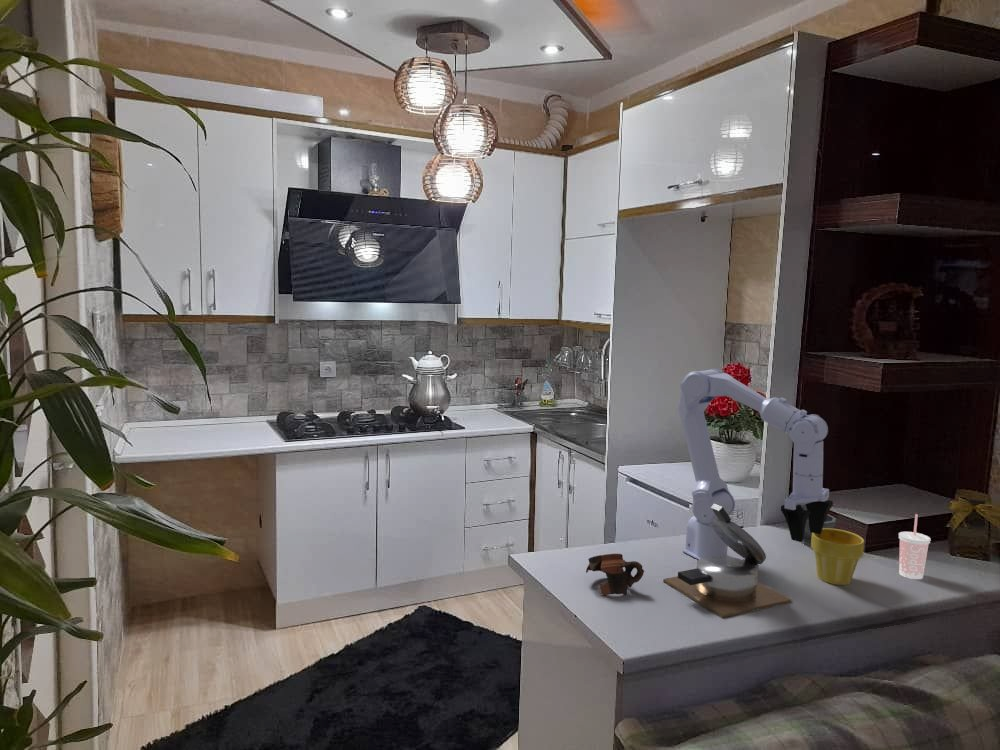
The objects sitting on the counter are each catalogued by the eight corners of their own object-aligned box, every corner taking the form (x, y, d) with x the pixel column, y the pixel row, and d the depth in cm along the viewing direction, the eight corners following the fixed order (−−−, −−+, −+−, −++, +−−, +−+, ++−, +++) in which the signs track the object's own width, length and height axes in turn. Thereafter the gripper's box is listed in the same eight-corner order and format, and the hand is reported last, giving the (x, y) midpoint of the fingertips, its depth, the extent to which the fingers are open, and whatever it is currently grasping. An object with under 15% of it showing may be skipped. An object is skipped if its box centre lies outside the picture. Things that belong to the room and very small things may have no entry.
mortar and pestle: (811, 534, 182) (814, 489, 180) (842, 546, 173) (846, 499, 172) (779, 540, 177) (782, 494, 176) (809, 553, 169) (813, 504, 167)
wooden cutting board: (655, 583, 150) (656, 558, 149) (728, 569, 158) (729, 546, 157) (713, 619, 133) (715, 592, 133) (791, 602, 142) (793, 576, 141)
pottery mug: (586, 598, 143) (580, 556, 146) (595, 600, 152) (589, 561, 155) (645, 589, 140) (638, 548, 143) (650, 592, 149) (643, 553, 152)
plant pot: (867, 591, 148) (871, 546, 146) (814, 586, 150) (818, 542, 148) (853, 572, 158) (856, 530, 156) (803, 567, 160) (807, 526, 158)
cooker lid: (729, 552, 154) (733, 548, 154) (773, 574, 142) (777, 569, 143) (693, 500, 148) (697, 496, 148) (736, 519, 136) (740, 514, 137)
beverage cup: (893, 575, 156) (898, 514, 154) (897, 567, 161) (902, 508, 159) (925, 583, 152) (931, 520, 151) (928, 574, 157) (934, 513, 155)
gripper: (808, 482, 140) (806, 549, 141) (843, 471, 149) (842, 534, 150) (775, 476, 145) (774, 540, 146) (811, 466, 154) (810, 526, 155)
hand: (806, 536), depth 148 cm, fingers open, 7 cm apart
